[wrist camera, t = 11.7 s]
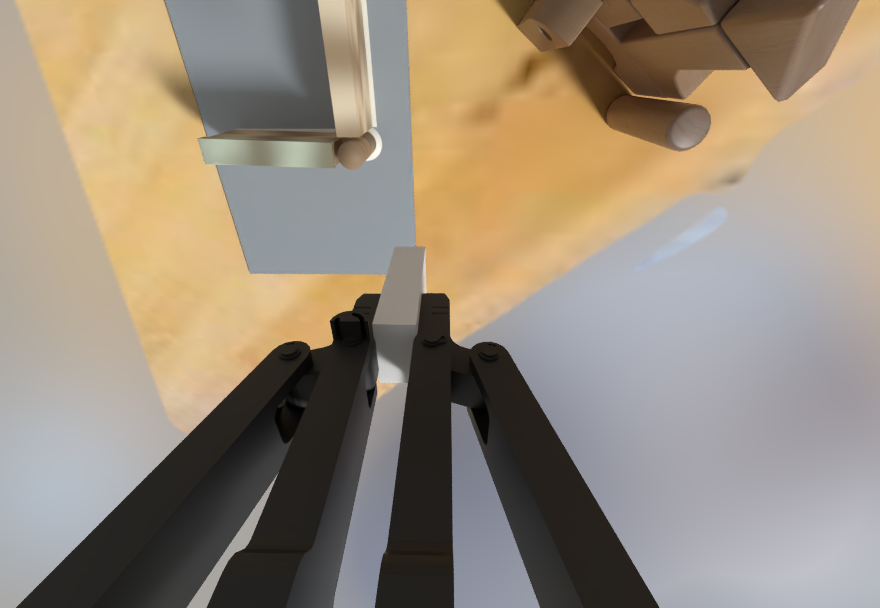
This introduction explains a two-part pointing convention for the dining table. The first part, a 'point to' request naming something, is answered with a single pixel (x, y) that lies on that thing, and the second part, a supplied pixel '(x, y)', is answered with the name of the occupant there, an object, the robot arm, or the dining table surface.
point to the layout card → (309, 110)
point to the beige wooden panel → (348, 78)
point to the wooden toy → (692, 51)
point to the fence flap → (272, 148)
